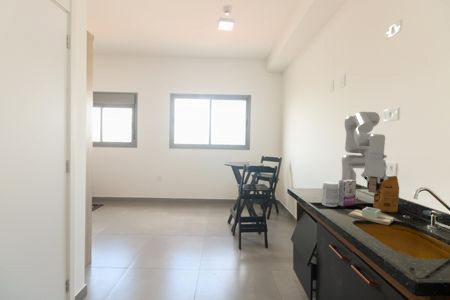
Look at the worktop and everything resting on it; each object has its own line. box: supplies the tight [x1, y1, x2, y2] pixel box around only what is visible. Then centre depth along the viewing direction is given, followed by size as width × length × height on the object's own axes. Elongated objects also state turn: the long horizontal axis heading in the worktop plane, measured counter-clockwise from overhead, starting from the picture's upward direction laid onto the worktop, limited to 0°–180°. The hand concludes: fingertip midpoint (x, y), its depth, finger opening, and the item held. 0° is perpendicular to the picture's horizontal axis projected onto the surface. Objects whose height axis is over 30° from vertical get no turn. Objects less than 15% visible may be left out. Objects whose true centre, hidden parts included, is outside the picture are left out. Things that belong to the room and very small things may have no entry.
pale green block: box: [362, 206, 382, 218], centre depth 155 cm, size 9×7×3 cm
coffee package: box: [372, 175, 400, 213], centre depth 172 cm, size 10×12×22 cm
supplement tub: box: [321, 181, 339, 208], centre depth 179 cm, size 10×10×15 cm
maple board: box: [348, 209, 395, 226], centre depth 155 cm, size 13×20×2 cm, turn 47°
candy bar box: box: [337, 179, 357, 207], centre depth 181 cm, size 11×5×16 cm, turn 117°
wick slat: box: [367, 177, 378, 193], centre depth 154 cm, size 5×4×8 cm
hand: (373, 189), depth 154 cm, fingers closed on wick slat, 3 cm apart
